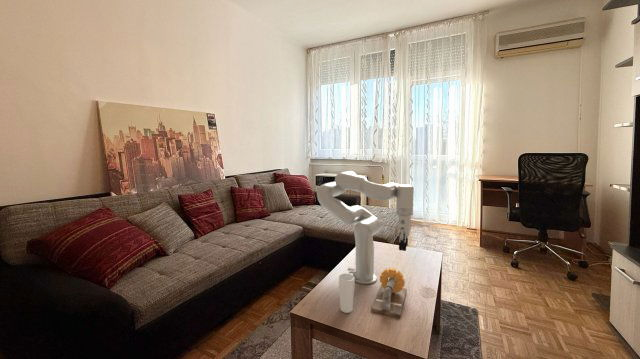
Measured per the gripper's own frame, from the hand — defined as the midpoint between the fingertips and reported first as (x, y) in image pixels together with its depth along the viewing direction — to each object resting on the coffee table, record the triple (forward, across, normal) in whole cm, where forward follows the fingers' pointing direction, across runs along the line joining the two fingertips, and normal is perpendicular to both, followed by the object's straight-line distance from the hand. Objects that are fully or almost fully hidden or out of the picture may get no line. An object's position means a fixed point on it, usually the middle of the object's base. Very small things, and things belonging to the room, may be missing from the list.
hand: (403, 247), depth 132 cm
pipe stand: (+22, -12, +4) cm, 25 cm away
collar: (+20, -7, +4) cm, 21 cm away
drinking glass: (+22, -26, +20) cm, 39 cm away
